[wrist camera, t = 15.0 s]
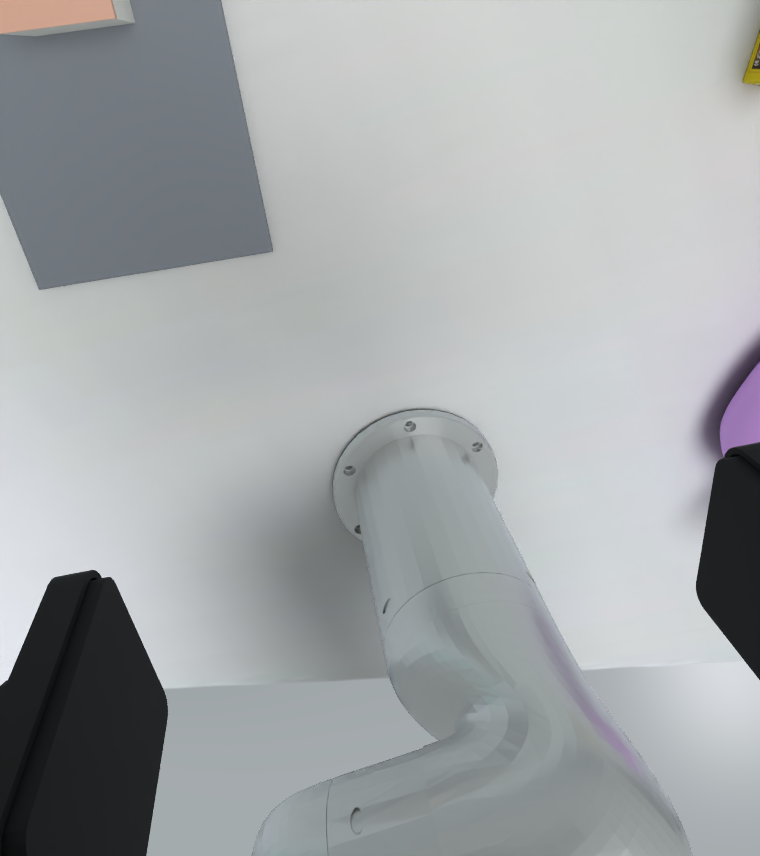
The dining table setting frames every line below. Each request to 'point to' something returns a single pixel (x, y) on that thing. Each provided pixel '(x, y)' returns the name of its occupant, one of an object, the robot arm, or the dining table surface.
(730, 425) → the teapot
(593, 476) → the dining table surface
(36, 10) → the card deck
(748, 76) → the candy box
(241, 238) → the mat
